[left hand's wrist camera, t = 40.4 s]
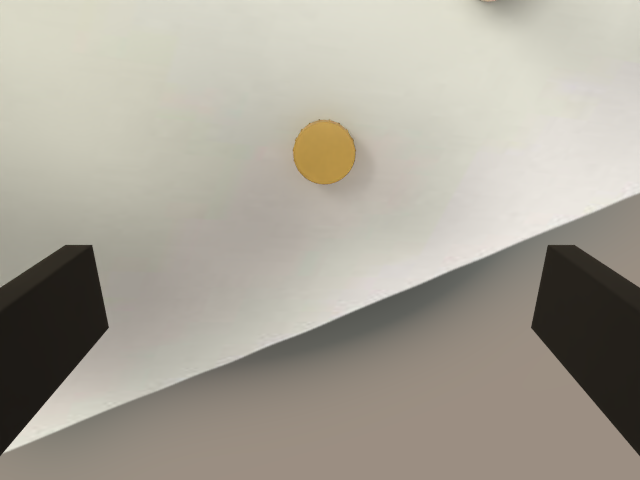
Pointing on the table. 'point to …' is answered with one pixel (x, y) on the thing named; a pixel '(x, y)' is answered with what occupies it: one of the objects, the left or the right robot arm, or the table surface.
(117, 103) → the table surface
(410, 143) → the table surface
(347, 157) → the lid
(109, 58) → the table surface
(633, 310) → the left robot arm
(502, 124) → the table surface
